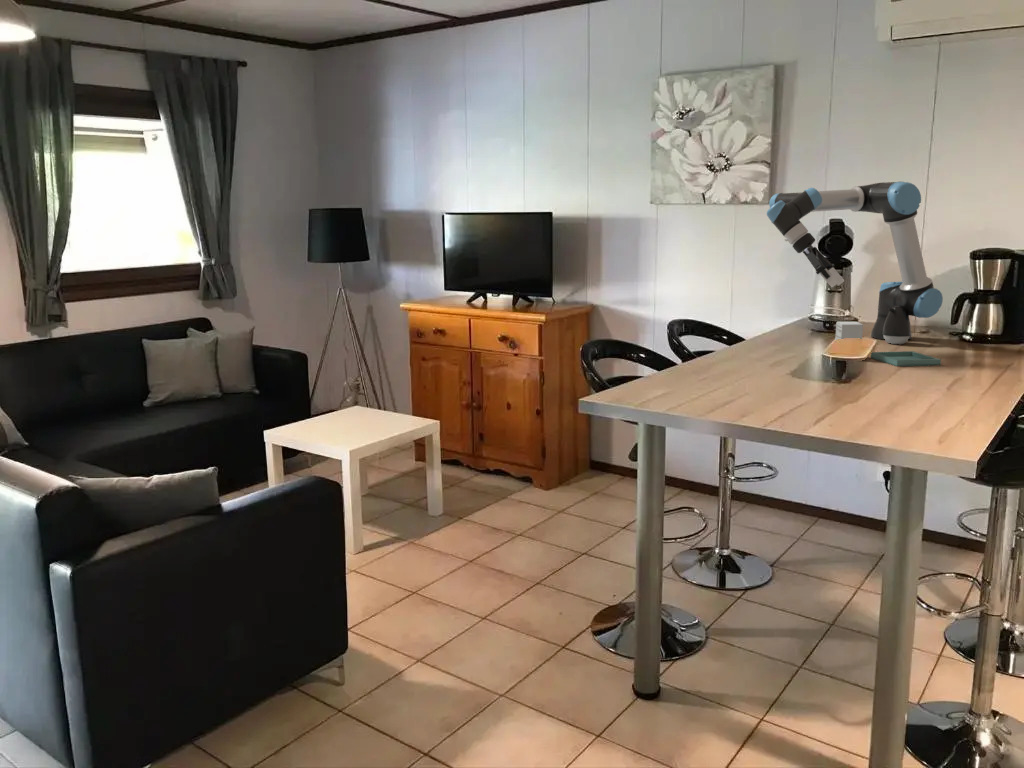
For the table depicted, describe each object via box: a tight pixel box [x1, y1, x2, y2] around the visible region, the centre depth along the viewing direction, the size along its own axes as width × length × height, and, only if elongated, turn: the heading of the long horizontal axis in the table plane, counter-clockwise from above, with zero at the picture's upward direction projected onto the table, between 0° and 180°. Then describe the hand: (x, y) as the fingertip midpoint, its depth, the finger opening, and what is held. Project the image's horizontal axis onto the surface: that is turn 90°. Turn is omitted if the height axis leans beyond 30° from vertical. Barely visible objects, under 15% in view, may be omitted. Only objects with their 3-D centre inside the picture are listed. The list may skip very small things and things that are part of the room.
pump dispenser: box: [882, 305, 912, 345], centre depth 327 cm, size 10×10×15 cm
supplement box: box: [834, 321, 864, 341], centre depth 298 cm, size 7×7×13 cm
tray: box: [870, 350, 942, 367], centre depth 291 cm, size 16×16×2 cm
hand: (838, 284), depth 297 cm, fingers open, 13 cm apart
